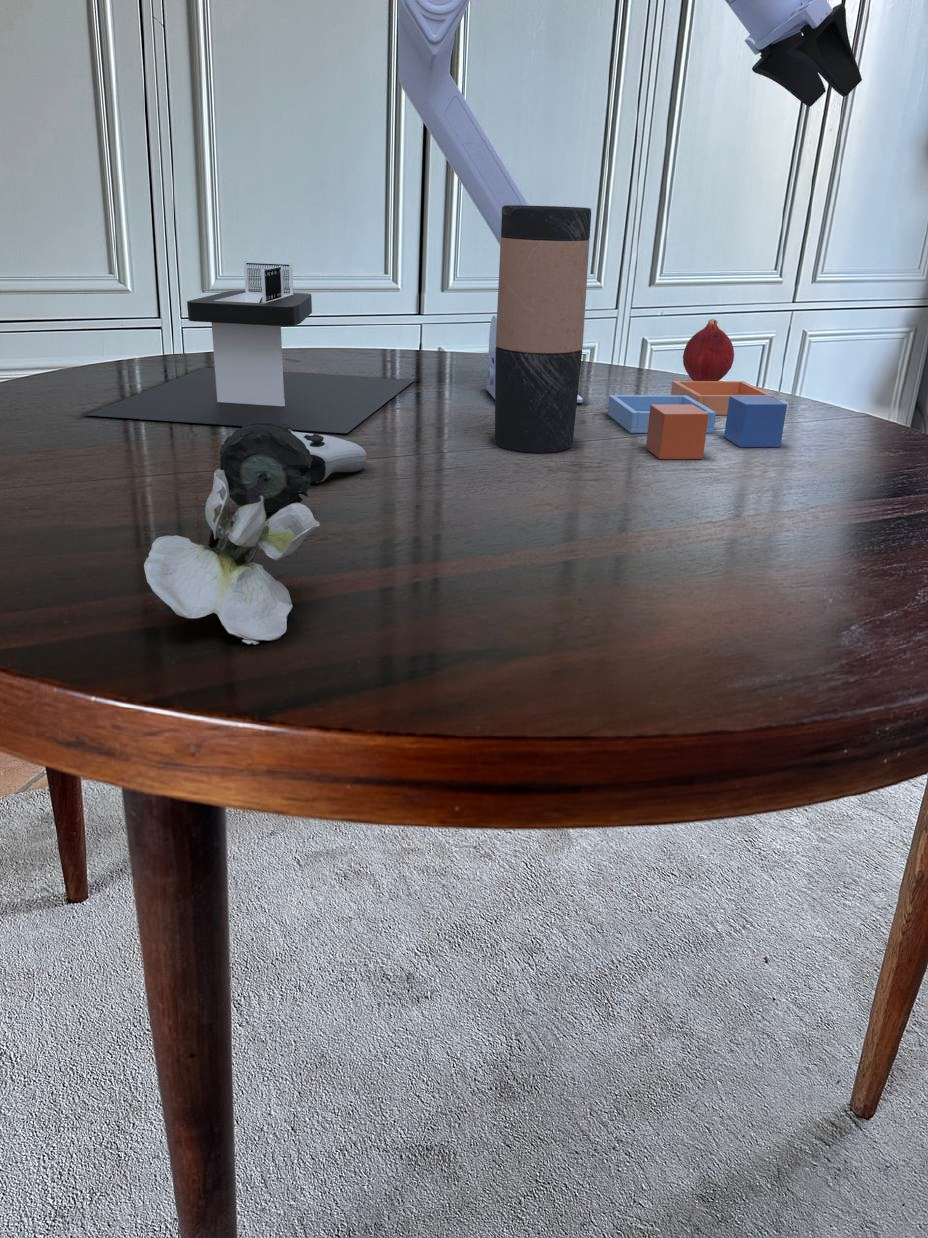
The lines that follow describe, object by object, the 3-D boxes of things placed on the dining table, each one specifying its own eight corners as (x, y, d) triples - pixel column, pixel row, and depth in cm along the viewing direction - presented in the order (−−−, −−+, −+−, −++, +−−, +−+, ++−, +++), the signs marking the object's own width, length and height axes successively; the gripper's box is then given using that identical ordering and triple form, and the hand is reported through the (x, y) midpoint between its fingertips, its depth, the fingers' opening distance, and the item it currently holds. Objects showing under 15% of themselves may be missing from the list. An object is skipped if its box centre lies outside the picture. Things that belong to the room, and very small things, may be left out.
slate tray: (630, 433, 95) (632, 412, 95) (607, 414, 103) (608, 394, 102) (713, 432, 97) (716, 412, 96) (684, 414, 104) (686, 395, 103)
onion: (734, 394, 115) (744, 323, 112) (684, 392, 115) (693, 321, 112) (723, 385, 120) (732, 316, 117) (675, 383, 120) (683, 315, 117)
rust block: (659, 459, 86) (664, 413, 85) (645, 448, 90) (650, 404, 88) (703, 459, 87) (709, 413, 85) (687, 447, 91) (692, 404, 89)
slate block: (739, 447, 91) (745, 404, 90) (723, 437, 95) (729, 395, 93) (780, 447, 92) (787, 404, 90) (763, 436, 95) (769, 395, 94)
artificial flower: (335, 528, 71) (370, 399, 66) (264, 713, 52) (305, 550, 47) (213, 492, 70) (239, 358, 65) (94, 666, 51) (117, 495, 46)
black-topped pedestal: (346, 434, 92) (343, 282, 86) (84, 416, 96) (65, 270, 90) (414, 381, 117) (415, 261, 111) (204, 368, 121) (195, 252, 115)
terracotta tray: (696, 414, 104) (698, 395, 103) (670, 398, 111) (672, 380, 111) (771, 414, 105) (774, 395, 104) (741, 398, 113) (743, 380, 112)
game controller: (373, 455, 81) (350, 414, 76) (355, 513, 79) (330, 475, 74) (269, 443, 84) (239, 402, 78) (248, 498, 82) (217, 460, 77)
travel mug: (586, 439, 92) (604, 207, 84) (558, 458, 86) (575, 208, 78) (510, 429, 95) (521, 204, 87) (478, 446, 89) (486, 205, 81)
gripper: (818, -77, 88) (903, 49, 92) (754, -34, 101) (831, 74, 106) (758, -13, 89) (845, 108, 93) (703, 21, 102) (781, 125, 107)
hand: (834, 93), depth 100 cm, fingers open, 7 cm apart
